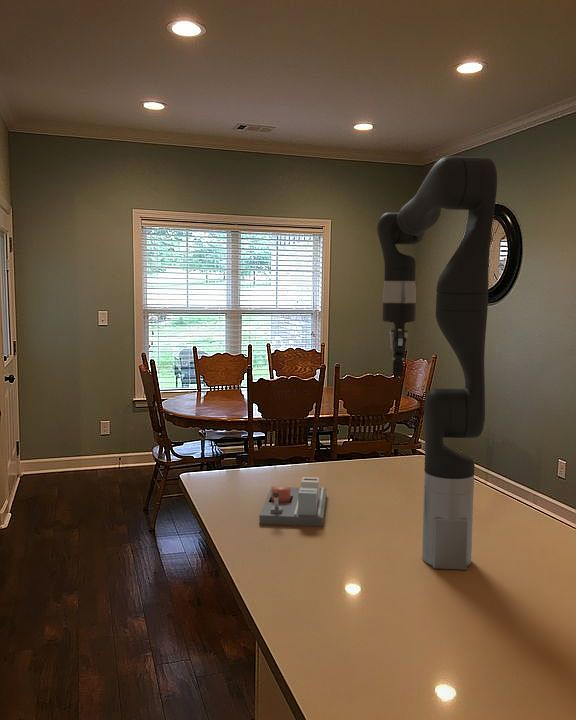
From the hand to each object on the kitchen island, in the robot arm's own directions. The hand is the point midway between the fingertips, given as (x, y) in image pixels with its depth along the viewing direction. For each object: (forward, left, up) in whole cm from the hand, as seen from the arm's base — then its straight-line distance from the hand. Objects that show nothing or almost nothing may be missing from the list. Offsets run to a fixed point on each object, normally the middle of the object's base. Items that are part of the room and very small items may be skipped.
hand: (397, 376), depth 149 cm
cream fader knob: (-1, +20, -30) cm, 36 cm away
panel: (-2, +24, -32) cm, 40 cm away
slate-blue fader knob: (-10, +20, -30) cm, 37 cm away
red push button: (-1, +27, -32) cm, 42 cm away
